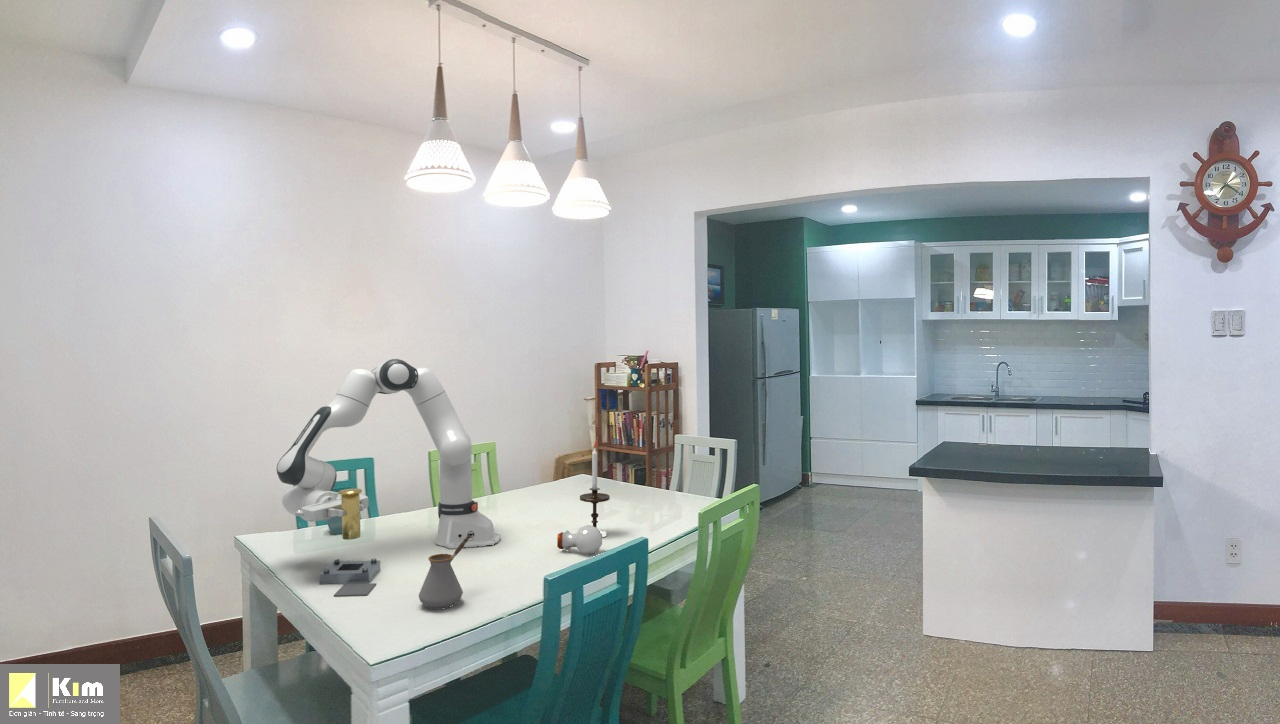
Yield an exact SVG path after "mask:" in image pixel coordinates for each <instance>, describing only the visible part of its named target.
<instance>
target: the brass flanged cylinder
mask: <svg viewBox="0 0 1280 724" xmlns="http://www.w3.org/2000/svg"><path fill="white" fill-rule="evenodd" d="M338 491H339V494H340V495H341V500H342V509H343V510H345V511H346V512H345V513H346V515H345V516H342V533H341V534H342V537H341V538H342V539H343V540H347V541H351V540H355V539H360V537H361V511H360V497H359V494H361V493H362V492H363V491H362V489H361V488H345V489H341V490H338Z"/></svg>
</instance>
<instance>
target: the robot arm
mask: <svg viewBox="0 0 1280 724" xmlns="http://www.w3.org/2000/svg"><path fill="white" fill-rule="evenodd" d="M401 391H404V392H406V393H407V394H408V395H409V396H410V397H411V399H412V401H413V403H414V405H415V407H416V409H417V411H418V413H419V415H420V417H421V419H422V421H423V422H424V424H425V426H426V428H427V429H426V430H427V431H428V432H429V435H430V437H431V440H432V441H433V443H434V446H435V448H436V450H437V452H438V454H439V502H438V505H437V516H438V528H437V533H436V537H435V541H434V543H435V544H436V545H438V546H441V547H445V548H448V549H457V548H458V546H459V545H460V544H461V543H462V542H463V541H464V539H466V537H467V536H468V535H470V536H472V537H473V538H474V540H473V538H472V537H470V538H469V539H468V542H466V543H465V545H464V547H466V548H476V547H477V546H479V547H487V546H486V545H492V546H495V545H496V544H495V543H497V542H498V543H499V542H500V541H501V539H500V537H501V534H500V533H499V532H495V528H494V524H493V522H492V520H491V519H490V518H488V517H487V516H485V515H484V514H483V513H481V512H480V511H479V503H478V502H479V501H475V500H473V474H472V471H473V470H472V469H473V468H472V467H473V466H472V453H473V445H472V440H471V437H470V436H469V434H468V433H467V432H466V430H465V428H464V427H463V424H462V422H461V420H460V418H459V416H458V414H457V412H456V410H455V407H454V405H453V404H452V402H451V399H450V398H449V396H448V394H447V392H446V389H444V387H443V385H442V383H441V382H440V380H439V378H438V377H437V376H436V374H435V373H434V372H433V371H432V370H431V369H430V368H428V367H418V368H415V367H414V366H412V365H411V364H410V363H408V362H407V361H405V360H403V359H399V358H392V359H388V360H386V361H383V362H382V363H380V364H379V365H378V366H377V367H374V369H371V371H370V370H368V369H365V368H355V369H352V370H351V371H350V372H349V373H348V374H347V376H346V377H345V379H344V380H343V381H342V383H341V385H340V386H339V388H338V390H337V392H336V393H335V396H334V397H333V398H332V400H331V401H330V402H329V403H328V404H327V405H325V406H321V407H320V408H319V409H317V411H316V412H315V413H314V414H313V415H312V416H311V418H310V419H309V421H307V424H306V425H305V427H303V429H302V431H301V432H300V433H299V435H298V437H297V438H296V439H295V440H294V442H293V444H292V445H291V447H290V448H289V449H288V450H287V451H286V452H285V453H284V454H283V455H282V456H281V457H280V459H279V460H278V462H277V464H276V474H277V477H278V479H279V481H280V482H281V483H283V484H287V485H291V486H293V487H291V488H288V489H287V490H286V491H284V493H283V495H282V500H281V502H282V505H283V507H284V510H285V511H287V513H289V514H291V515H293V516H297V517H301V519H302V520H304V521H306V522H312V523H315V522H319V521H323V522H327V520H329V519H331V518H332V517H335V516H340V517H341V516H345V515H346V513H345V512H346V511H345V510H343V509H342V500H341V495H340V494H339V491H340V490H336V491H335V490H334V488H335V485H336V483H337V474H338V473H337V470H336V467H335V466H334V465H333V464H331V463H328V462H326V461H323V460H321V459H317V458H314V457H312V456H309V454H310V452H311V450H313V447H315V445H316V443H317V442H318V440H319V439H320V437H321V436H322V434H324V433H325V432H326V431H327V430H329V429H332V428H333V429H334V428H349V427H354V426H356V425H358V424H359V423H361V422H362V421H363V419H364V418H365V416H366V414H367V412H368V411H369V408H370V405H372V404H371V403H372V401H373V399H374V397H375V396H376V395H377V394H381V395H383V394H384V395H391V394H396V393H399V392H401ZM333 490H334V491H333ZM359 497H360V512H363V511H364V510H365V509H368V508H369V501H370V500H369V497H368V496H367V495H364V494H361V493H359ZM469 540H473V541H469ZM499 540H500V541H499ZM498 543H497V544H498ZM494 544H495V545H494ZM464 547H463V548H464ZM463 548H462V549H463Z"/></svg>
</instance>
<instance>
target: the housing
mask: <svg viewBox="0 0 1280 724" xmlns="http://www.w3.org/2000/svg"><path fill="white" fill-rule="evenodd" d="M380 571H381V560H378V559H377V558H371V559H370V560H342V561H341V560H340V559H338V558H337V559H334V560H333V561H332V562H331V563H329V565H328V566H327V567H326V568H324V569H323V570H322V571H321V572H320V573H319V575H318V577H319V579H318V583H319V584H318V585H344V584H368V583H370V582H371V581H372V580H373V579H374V578H375V577H376V575H378V573H379V572H380Z"/></svg>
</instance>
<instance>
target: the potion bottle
mask: <svg viewBox="0 0 1280 724" xmlns="http://www.w3.org/2000/svg"><path fill="white" fill-rule="evenodd" d="M599 530H600V529H599V528H598V527H597V528H596V527H593V525H589V524H588V525H584V526H582V527H579V529H578V530H577V532H576V533H571V532H570V531H569V530H566V531H564V532H563V531H561V532H559V533H558V534H557V539H556V540H557V542H556V544H557V546H556V547H557V549H559V550H560V549H563V550H565V551H566V550H568V551H570V549H571V548H576V549H577V550H578V552H579V553H582V554H584V555H587V554H588V556H589V555H592V554H594V553H595V552H596V553H598V552H599V550H600V549H601V547H602V546H603V538H602V534H601V533H600V531H599Z"/></svg>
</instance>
